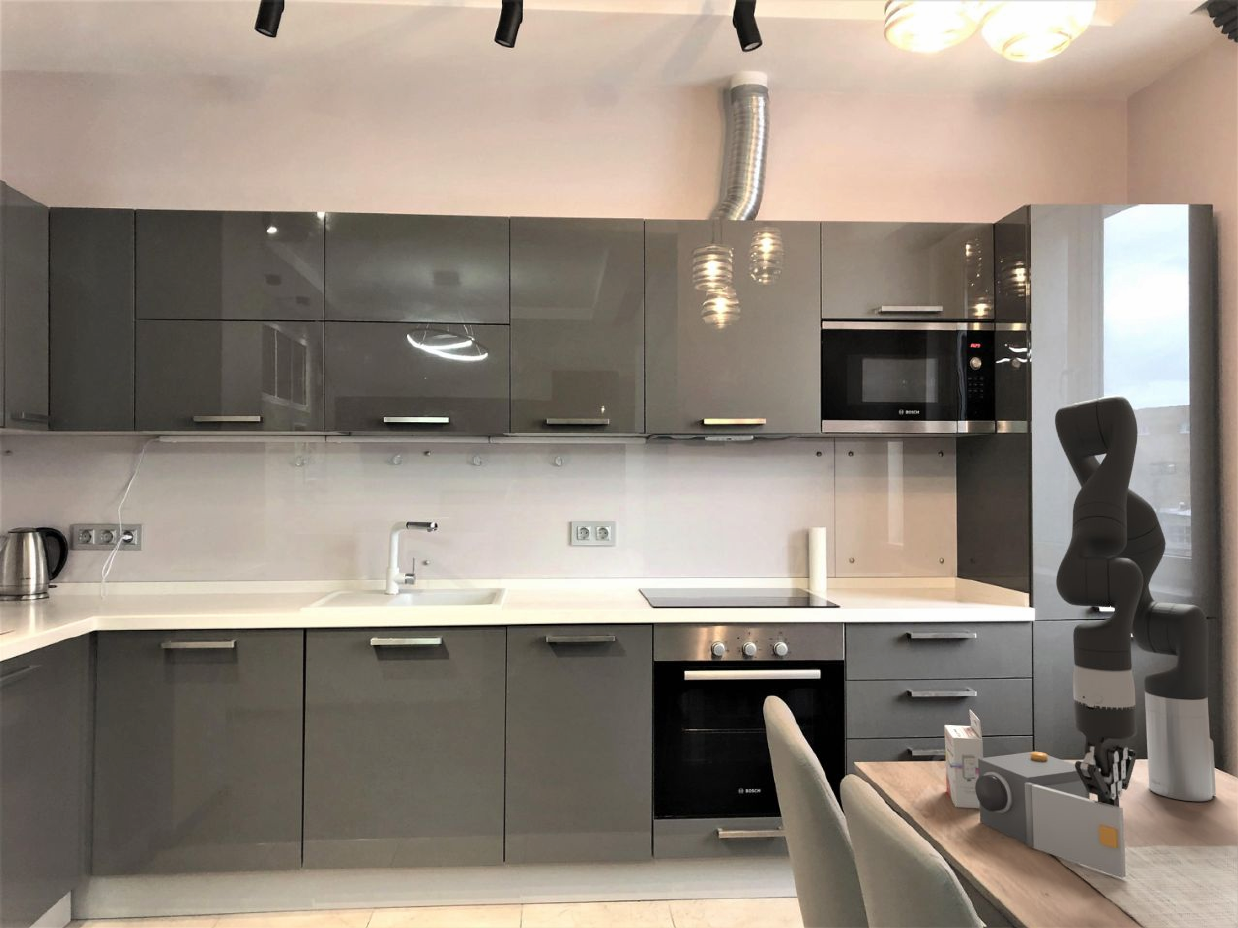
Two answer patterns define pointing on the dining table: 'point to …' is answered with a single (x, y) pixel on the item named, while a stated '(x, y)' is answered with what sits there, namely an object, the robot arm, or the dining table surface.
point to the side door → (1075, 828)
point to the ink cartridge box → (963, 762)
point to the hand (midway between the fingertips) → (1109, 822)
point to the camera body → (1020, 787)
